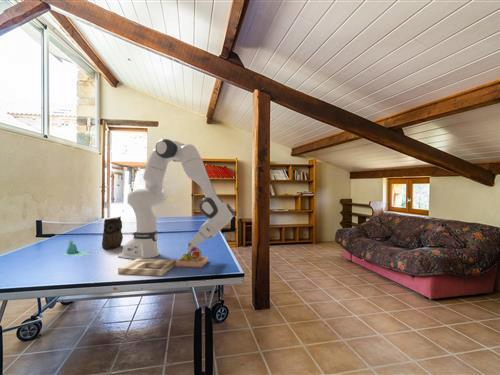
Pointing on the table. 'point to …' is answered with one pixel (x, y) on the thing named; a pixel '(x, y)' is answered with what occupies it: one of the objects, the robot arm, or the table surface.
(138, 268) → the puzzle board
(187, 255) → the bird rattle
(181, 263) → the terracotta tray
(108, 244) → the brown owl figurine
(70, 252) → the diorama
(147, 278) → the table surface
